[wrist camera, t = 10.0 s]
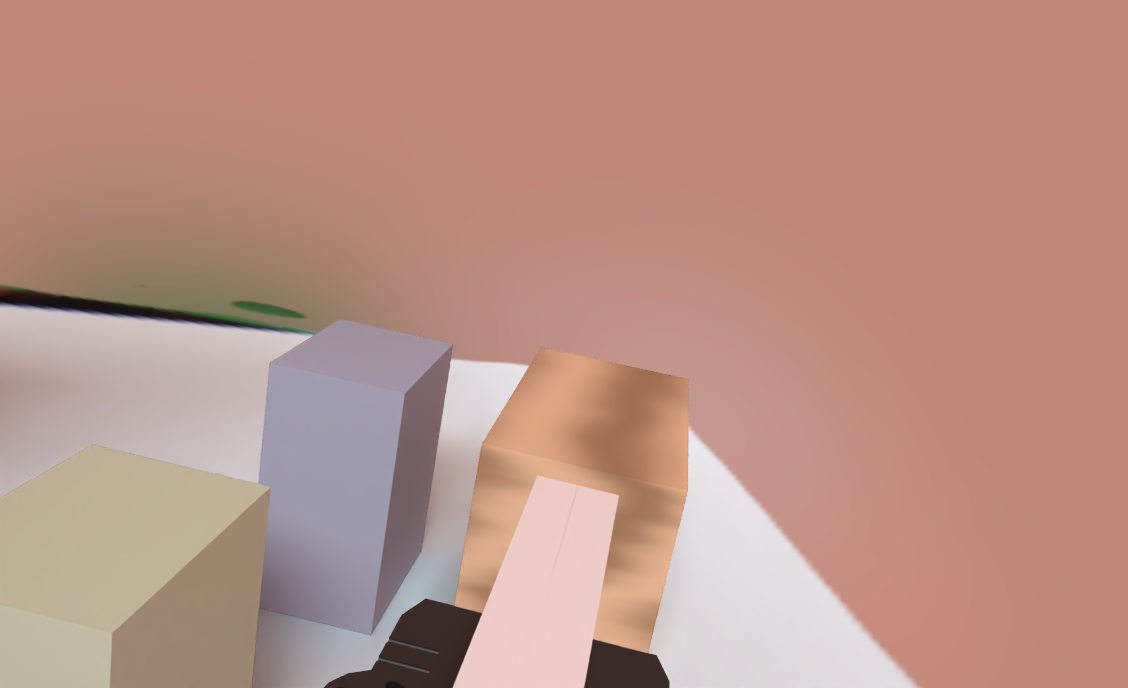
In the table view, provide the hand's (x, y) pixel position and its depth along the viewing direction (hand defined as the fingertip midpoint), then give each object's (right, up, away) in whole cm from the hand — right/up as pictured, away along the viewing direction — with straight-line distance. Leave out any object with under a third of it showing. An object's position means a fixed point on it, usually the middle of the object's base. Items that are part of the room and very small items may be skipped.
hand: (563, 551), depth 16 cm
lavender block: (-11, -8, +29) cm, 32 cm away
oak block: (0, -10, +28) cm, 30 cm away
